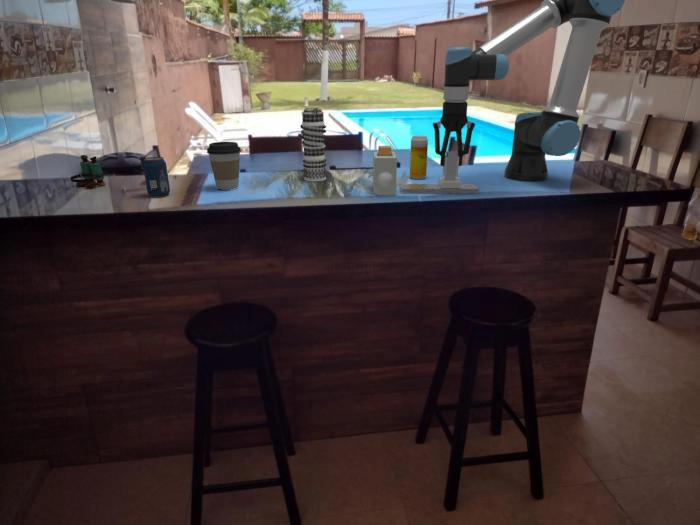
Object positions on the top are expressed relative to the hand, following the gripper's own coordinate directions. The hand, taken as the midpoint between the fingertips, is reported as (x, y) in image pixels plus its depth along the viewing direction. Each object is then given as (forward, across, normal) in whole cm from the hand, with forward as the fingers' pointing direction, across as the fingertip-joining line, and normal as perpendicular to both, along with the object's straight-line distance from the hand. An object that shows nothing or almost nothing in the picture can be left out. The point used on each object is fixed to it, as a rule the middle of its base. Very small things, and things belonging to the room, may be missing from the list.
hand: (450, 175), depth 164 cm
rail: (+5, +4, 0) cm, 6 cm away
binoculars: (+5, +124, -7) cm, 124 cm away
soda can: (+5, +95, +5) cm, 95 cm away
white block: (+5, +22, 0) cm, 22 cm away
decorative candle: (+5, +46, -19) cm, 50 cm away
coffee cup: (+5, +75, -5) cm, 76 cm away
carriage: (+3, 0, 0) cm, 3 cm away
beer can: (+5, +8, -20) cm, 22 cm away
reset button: (-4, +22, 0) cm, 22 cm away
